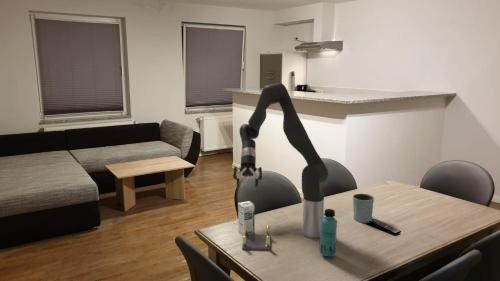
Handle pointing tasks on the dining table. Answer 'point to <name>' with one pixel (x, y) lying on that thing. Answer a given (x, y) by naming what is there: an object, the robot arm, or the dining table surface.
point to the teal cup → (363, 207)
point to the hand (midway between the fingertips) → (247, 186)
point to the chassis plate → (256, 240)
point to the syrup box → (246, 217)
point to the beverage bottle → (328, 233)
